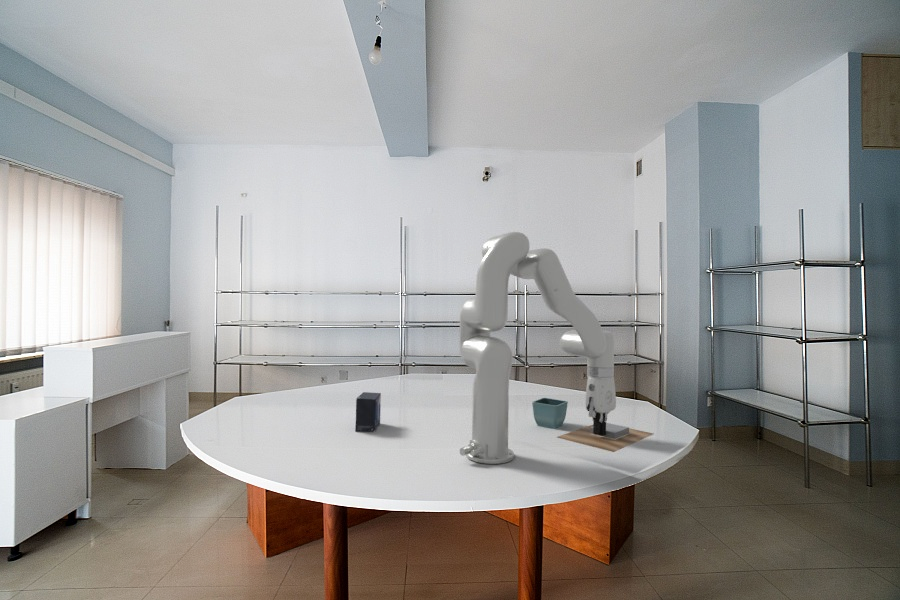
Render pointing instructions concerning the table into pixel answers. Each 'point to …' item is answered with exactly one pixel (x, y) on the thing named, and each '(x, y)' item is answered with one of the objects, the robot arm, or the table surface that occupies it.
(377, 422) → the small box
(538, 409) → the flower pot
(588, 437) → the board
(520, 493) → the table surface
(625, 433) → the tile
